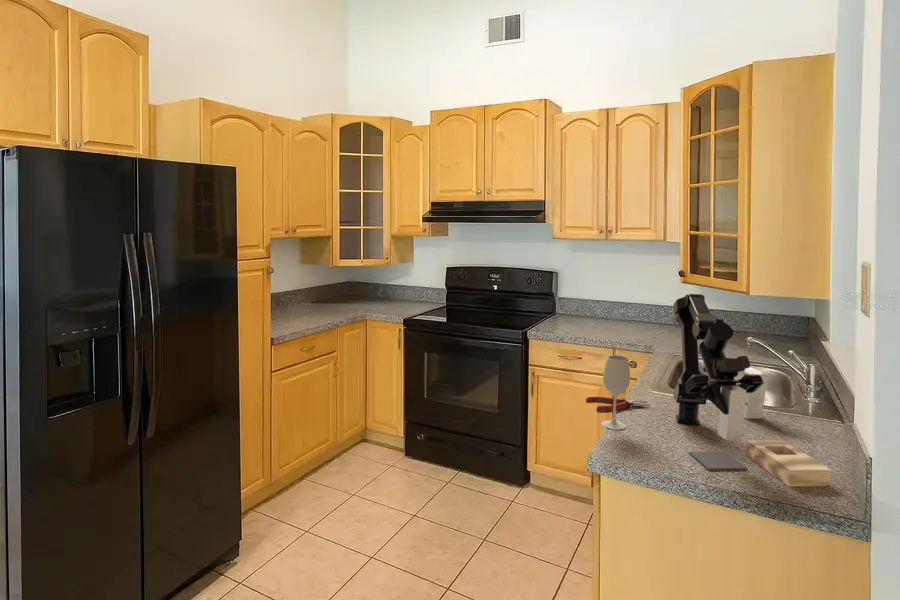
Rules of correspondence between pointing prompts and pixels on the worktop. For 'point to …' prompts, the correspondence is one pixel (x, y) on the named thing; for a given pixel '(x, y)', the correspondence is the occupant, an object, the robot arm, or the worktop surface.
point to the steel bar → (732, 412)
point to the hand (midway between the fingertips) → (734, 413)
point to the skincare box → (754, 395)
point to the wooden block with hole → (788, 463)
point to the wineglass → (616, 384)
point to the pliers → (620, 404)
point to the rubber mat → (717, 461)
